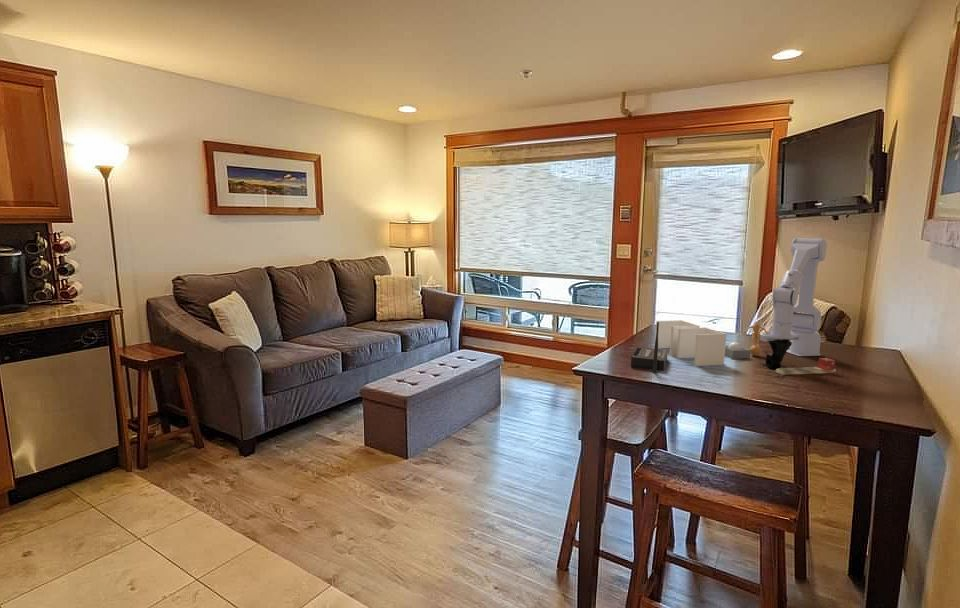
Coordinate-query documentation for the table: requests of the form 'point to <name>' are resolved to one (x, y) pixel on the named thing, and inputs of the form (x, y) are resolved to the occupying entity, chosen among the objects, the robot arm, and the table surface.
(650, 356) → the wireless controller
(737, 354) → the housing
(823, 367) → the space track
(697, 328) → the white brackets
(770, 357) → the black piece
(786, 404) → the table surface
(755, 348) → the figurine
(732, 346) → the white glossy sphere
